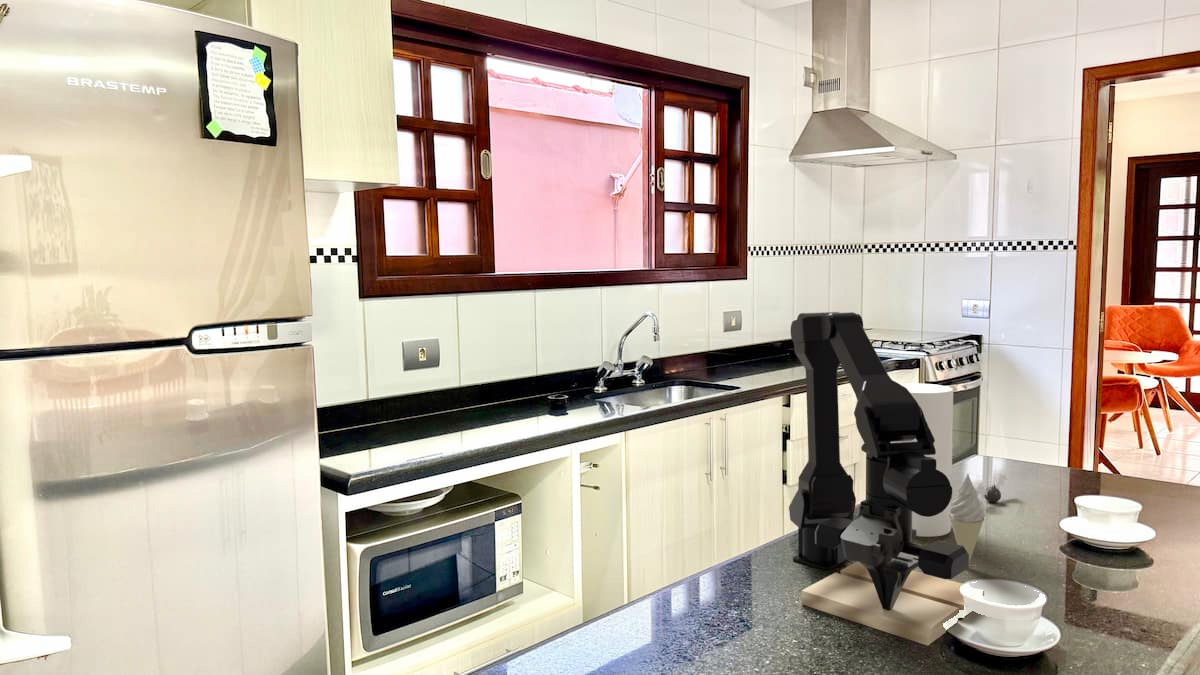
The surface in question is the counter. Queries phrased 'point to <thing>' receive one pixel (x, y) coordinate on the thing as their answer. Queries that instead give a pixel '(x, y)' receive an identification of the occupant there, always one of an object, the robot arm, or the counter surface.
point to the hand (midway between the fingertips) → (887, 608)
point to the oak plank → (879, 608)
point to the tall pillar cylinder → (940, 421)
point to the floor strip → (917, 585)
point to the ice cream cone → (967, 516)
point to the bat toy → (992, 490)
